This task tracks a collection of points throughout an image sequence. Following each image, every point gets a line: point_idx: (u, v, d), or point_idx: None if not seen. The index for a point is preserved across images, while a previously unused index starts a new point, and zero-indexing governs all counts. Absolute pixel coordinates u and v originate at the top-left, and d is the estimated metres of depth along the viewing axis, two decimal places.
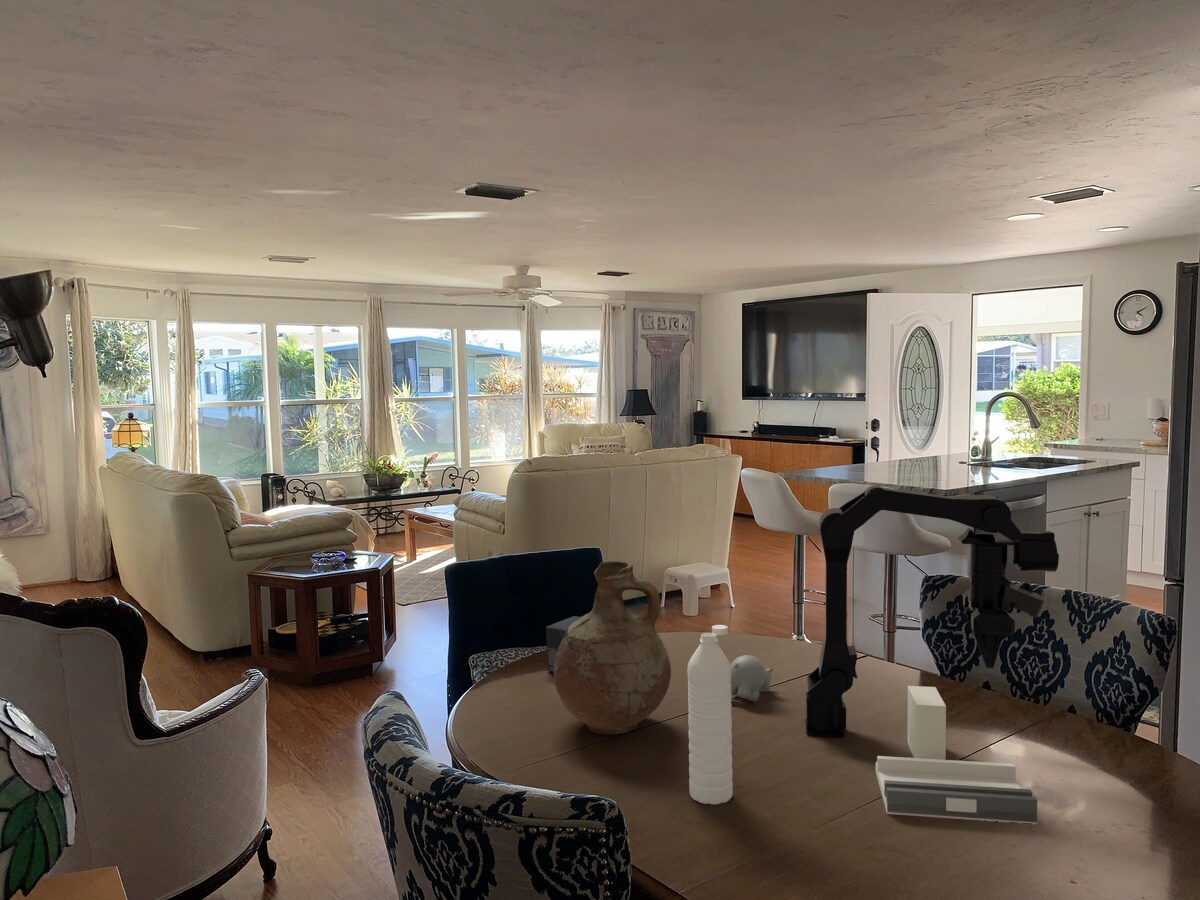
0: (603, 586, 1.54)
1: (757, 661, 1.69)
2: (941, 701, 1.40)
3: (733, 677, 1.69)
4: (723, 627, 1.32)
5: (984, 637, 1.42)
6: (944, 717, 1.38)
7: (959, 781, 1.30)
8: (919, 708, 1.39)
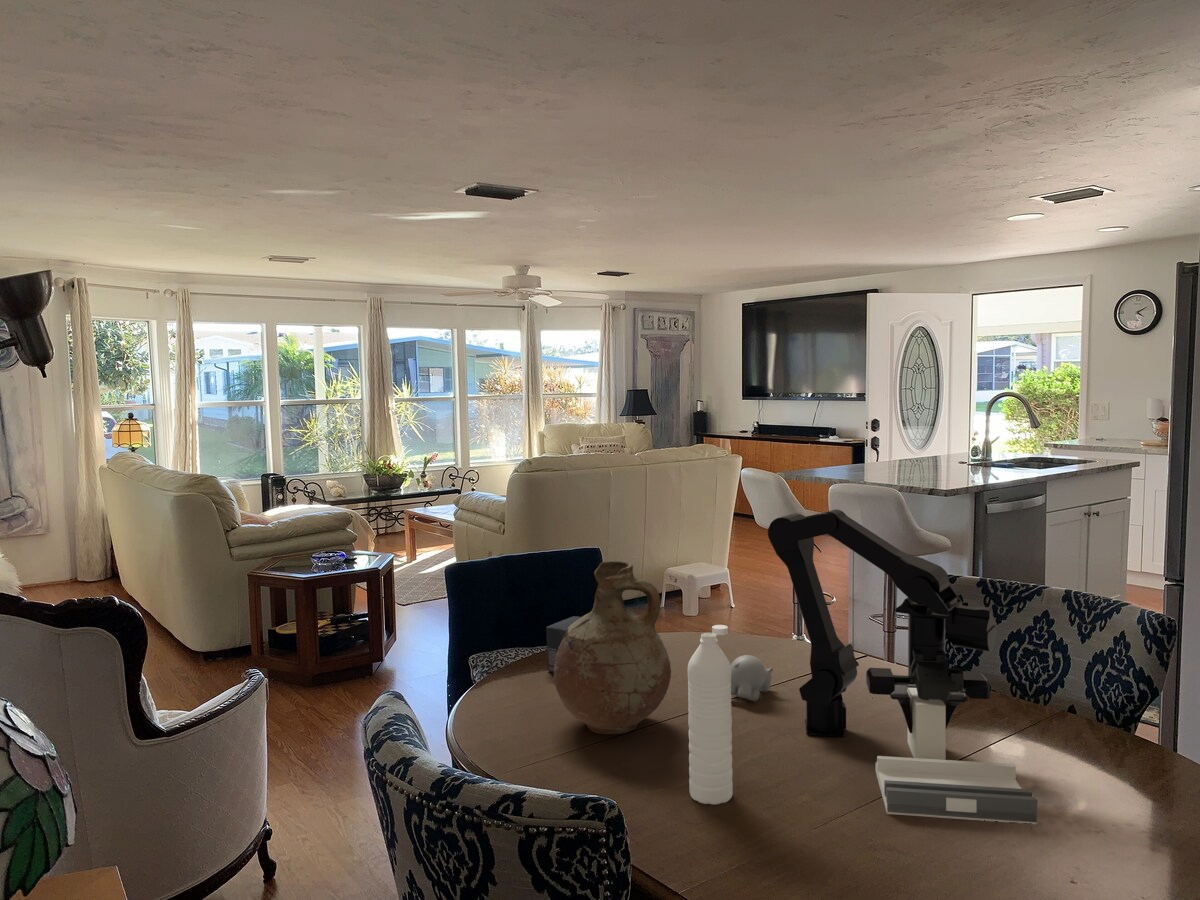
0: (603, 586, 1.54)
1: (757, 661, 1.69)
2: (941, 701, 1.40)
3: (733, 677, 1.69)
4: (723, 627, 1.32)
5: None
6: (944, 717, 1.38)
7: (959, 781, 1.30)
8: (918, 708, 1.39)
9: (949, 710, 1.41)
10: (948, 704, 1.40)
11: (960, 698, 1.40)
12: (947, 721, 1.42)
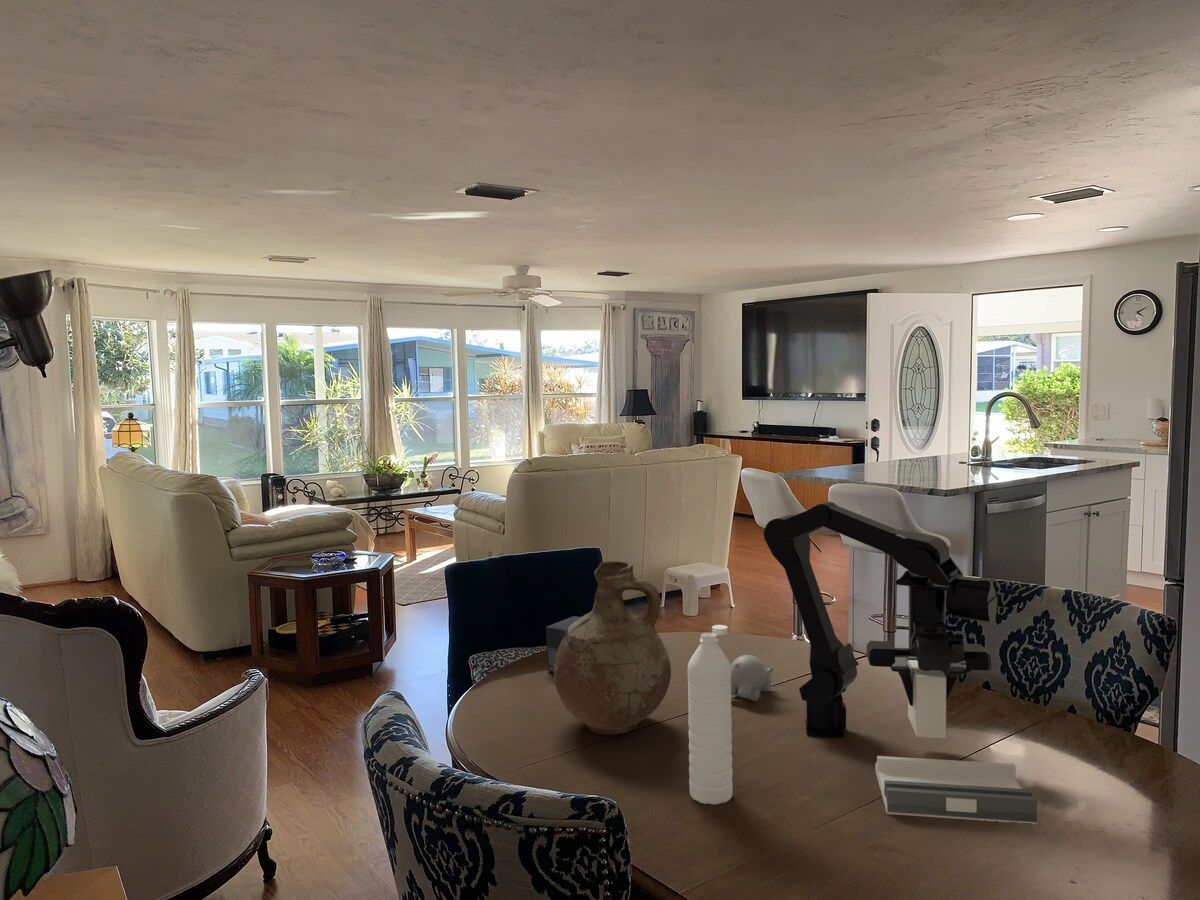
0: (603, 586, 1.54)
1: (757, 661, 1.69)
2: (941, 673, 1.40)
3: (733, 677, 1.69)
4: (723, 627, 1.32)
5: None
6: (944, 688, 1.38)
7: (959, 781, 1.30)
8: (919, 679, 1.39)
9: (949, 682, 1.41)
10: (949, 676, 1.40)
11: (961, 670, 1.39)
12: (948, 693, 1.41)
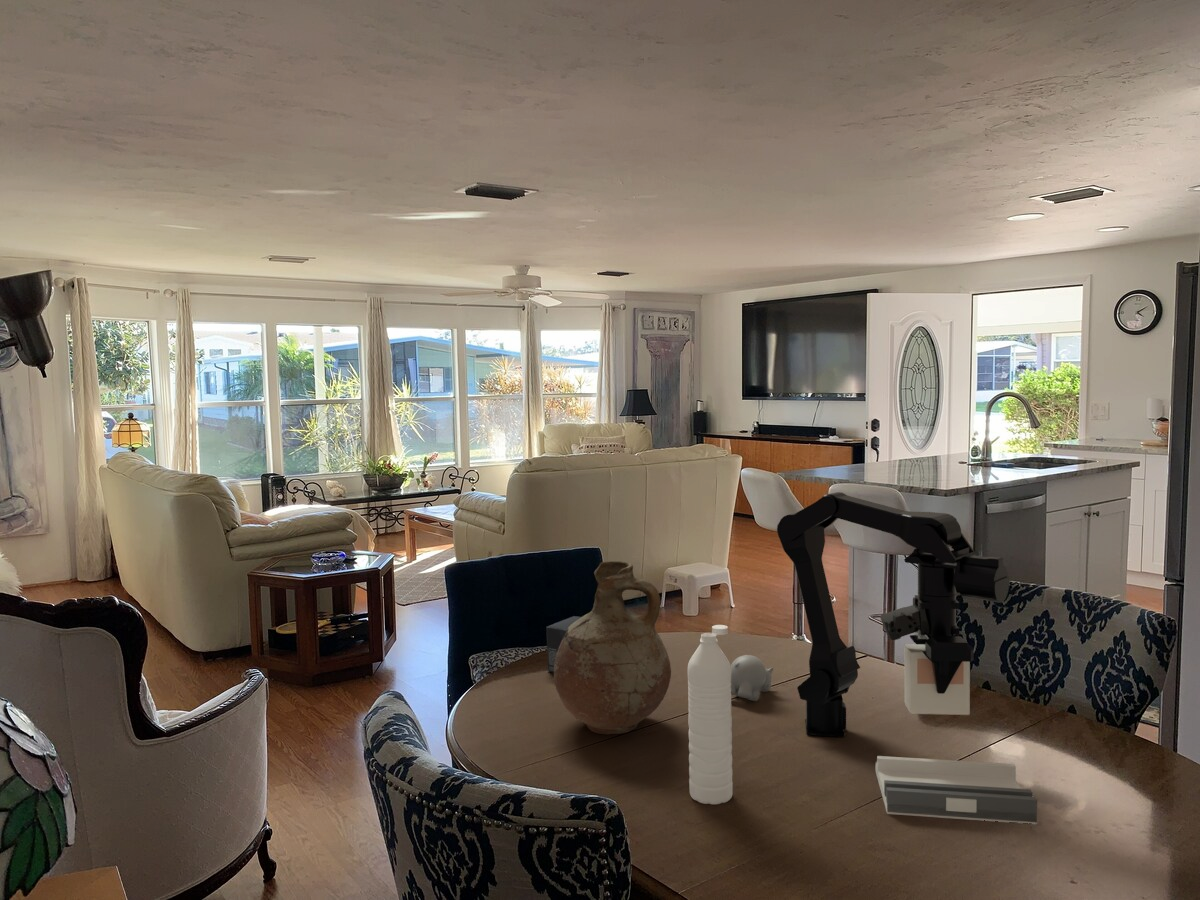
0: (603, 586, 1.54)
1: (758, 661, 1.69)
2: None
3: (733, 677, 1.69)
4: (723, 627, 1.32)
5: None
6: (910, 663, 1.37)
7: (959, 781, 1.30)
8: (904, 648, 1.41)
9: (933, 666, 1.36)
10: None
11: None
12: (935, 678, 1.36)
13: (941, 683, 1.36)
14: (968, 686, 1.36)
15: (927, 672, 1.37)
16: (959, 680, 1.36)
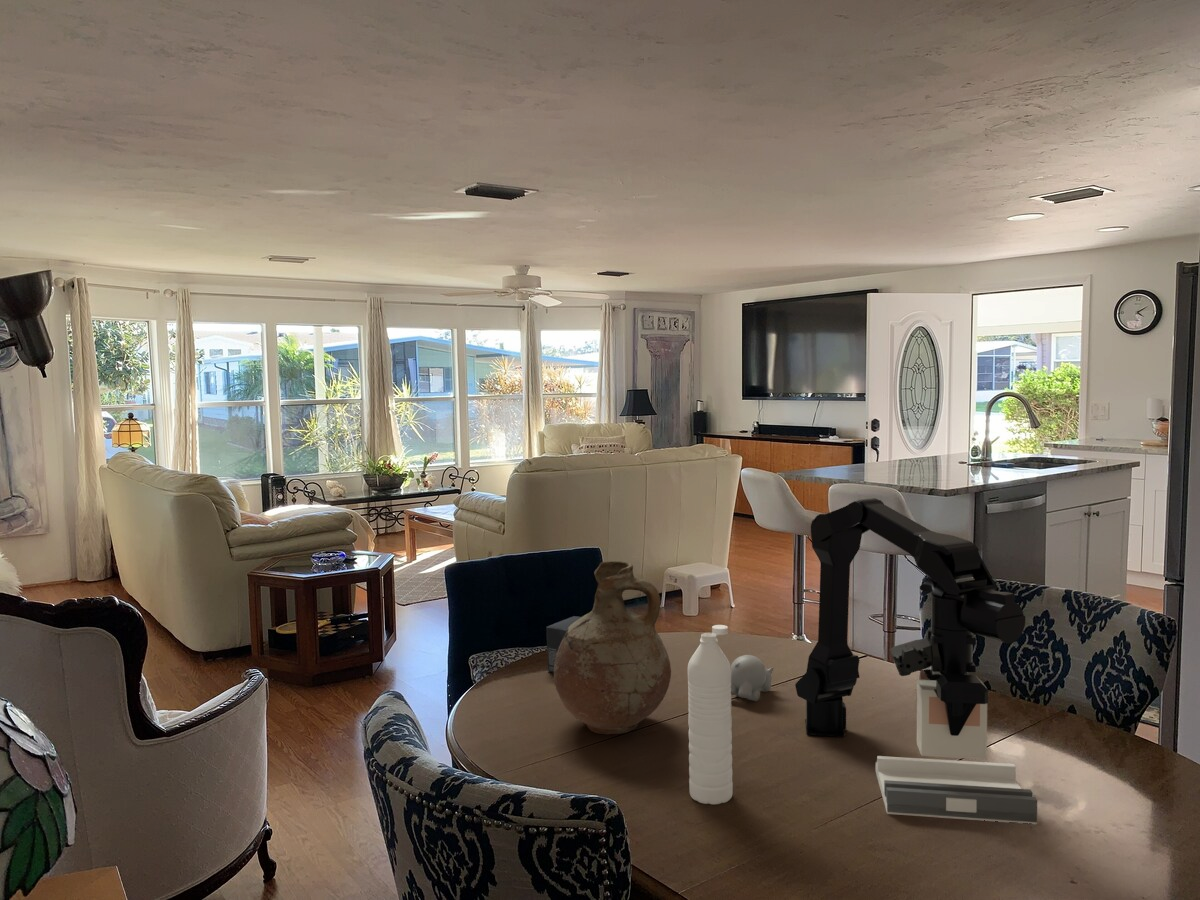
0: (603, 586, 1.54)
1: (758, 661, 1.69)
2: None
3: (733, 677, 1.69)
4: (723, 627, 1.32)
5: None
6: (921, 701, 1.27)
7: (959, 781, 1.30)
8: (917, 684, 1.30)
9: (945, 706, 1.25)
10: None
11: None
12: (948, 719, 1.25)
13: (954, 724, 1.25)
14: (985, 728, 1.25)
15: (940, 712, 1.26)
16: (975, 722, 1.25)
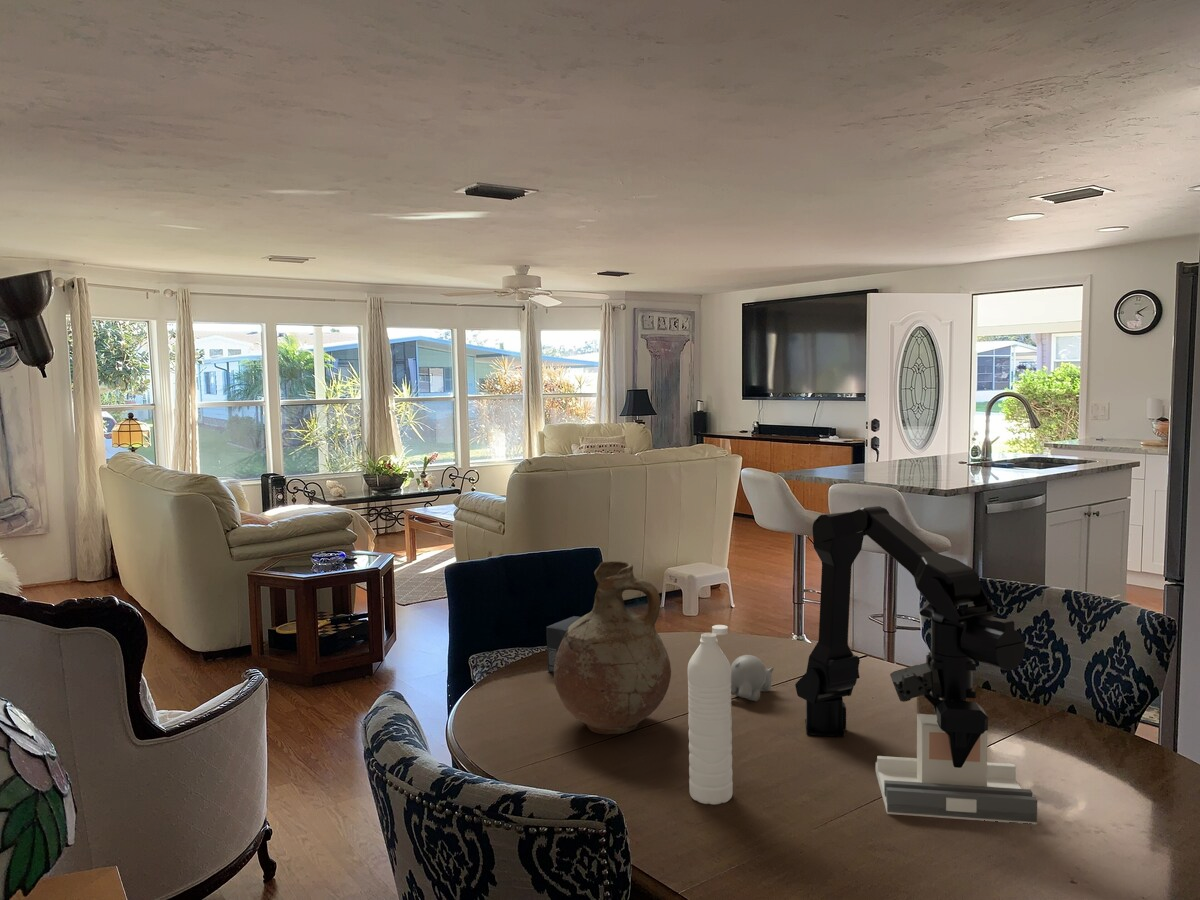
0: (603, 586, 1.54)
1: (758, 661, 1.69)
2: (936, 725, 1.27)
3: (734, 677, 1.69)
4: (723, 627, 1.32)
5: None
6: (921, 737, 1.27)
7: None
8: (917, 718, 1.31)
9: (948, 737, 1.23)
10: None
11: None
12: (951, 751, 1.23)
13: (958, 756, 1.23)
14: (985, 764, 1.25)
15: (940, 747, 1.26)
16: (975, 757, 1.25)
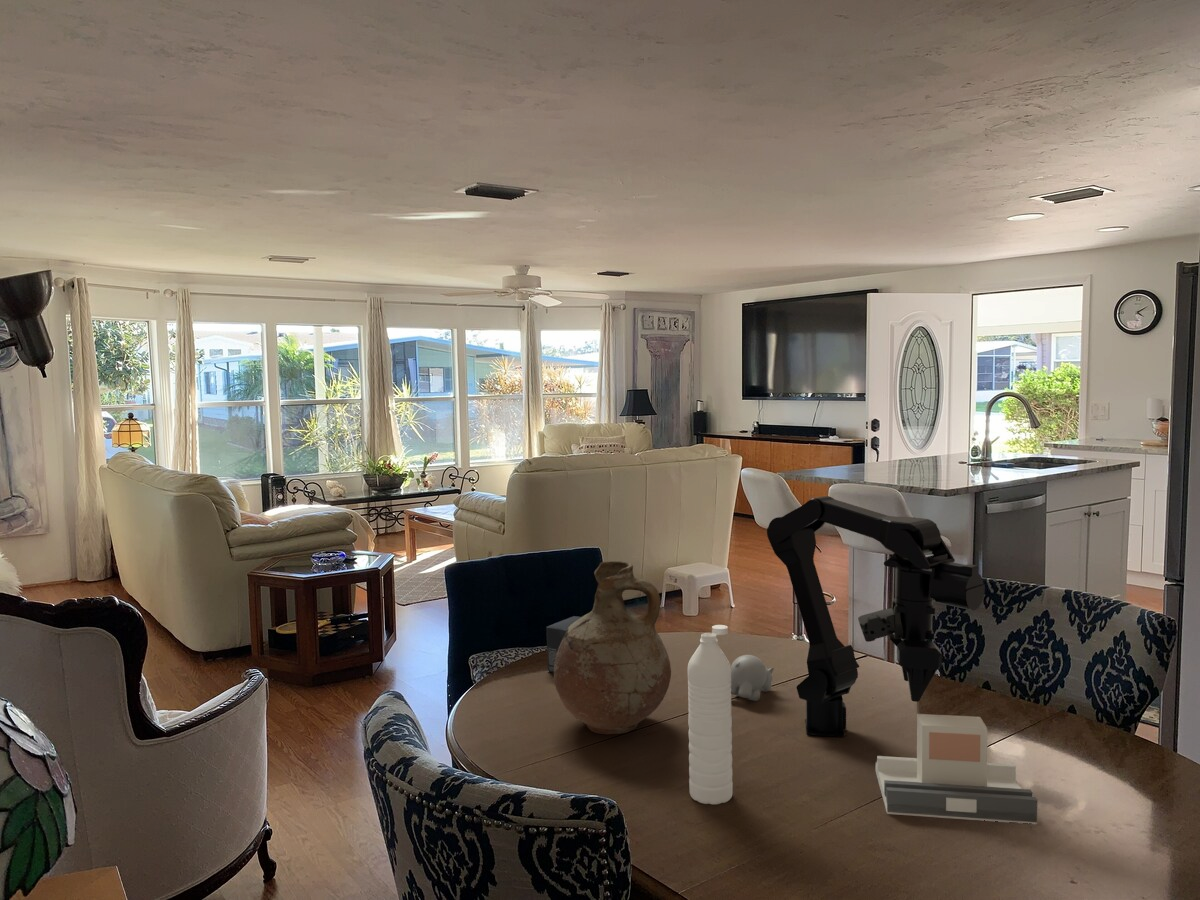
0: (603, 586, 1.54)
1: (758, 661, 1.69)
2: (936, 725, 1.27)
3: (734, 677, 1.69)
4: (723, 627, 1.32)
5: None
6: (921, 737, 1.27)
7: None
8: (917, 718, 1.31)
9: (907, 674, 1.35)
10: None
11: None
12: (909, 686, 1.35)
13: (915, 691, 1.35)
14: (985, 764, 1.25)
15: (940, 747, 1.26)
16: (975, 757, 1.25)
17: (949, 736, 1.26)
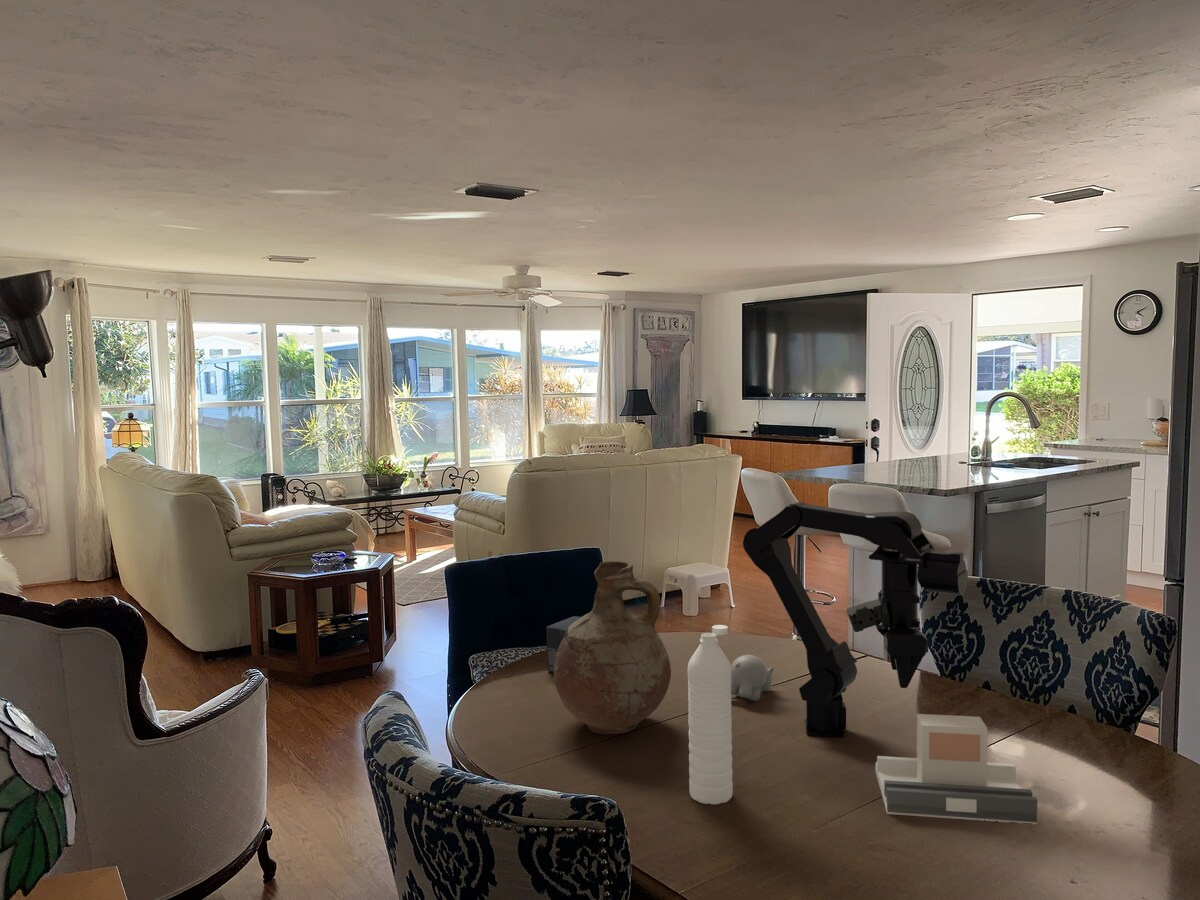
0: (603, 586, 1.54)
1: (758, 661, 1.69)
2: (936, 725, 1.27)
3: (734, 677, 1.69)
4: (723, 627, 1.32)
5: None
6: (921, 737, 1.27)
7: None
8: (917, 718, 1.31)
9: (895, 661, 1.40)
10: None
11: None
12: (897, 673, 1.40)
13: (903, 678, 1.40)
14: (985, 764, 1.25)
15: (940, 747, 1.26)
16: (975, 757, 1.25)
17: (949, 736, 1.26)
